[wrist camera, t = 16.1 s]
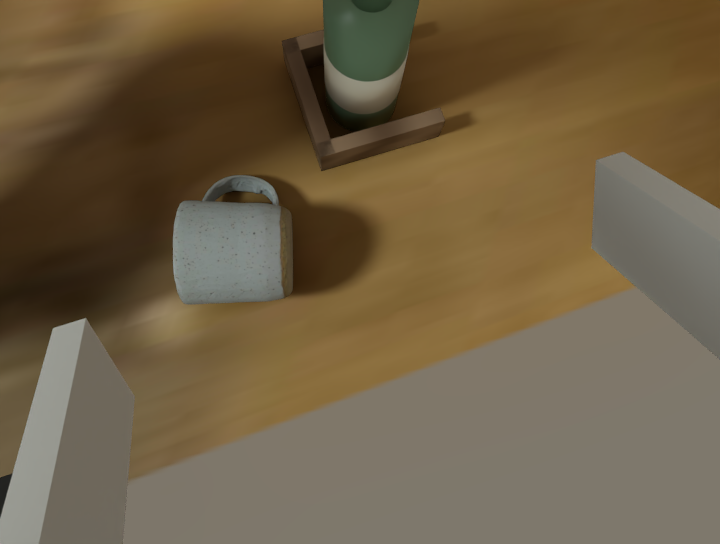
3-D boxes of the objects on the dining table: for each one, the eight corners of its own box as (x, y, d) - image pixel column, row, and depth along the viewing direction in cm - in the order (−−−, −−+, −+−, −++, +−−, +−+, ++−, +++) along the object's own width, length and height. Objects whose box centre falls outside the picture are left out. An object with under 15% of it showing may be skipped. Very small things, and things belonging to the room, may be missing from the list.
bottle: (318, 124, 49) (308, -46, 30) (333, 59, 50) (333, -145, 31) (388, 139, 49) (425, -21, 30) (402, 74, 50) (446, -121, 31)
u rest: (321, 170, 49) (320, 157, 46) (284, 60, 50) (281, 40, 47) (438, 136, 50) (445, 120, 47) (398, 29, 51) (402, 8, 48)
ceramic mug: (297, 306, 46) (291, 290, 39) (193, 311, 46) (166, 295, 38) (293, 180, 48) (286, 141, 41) (193, 183, 48) (168, 144, 41)
